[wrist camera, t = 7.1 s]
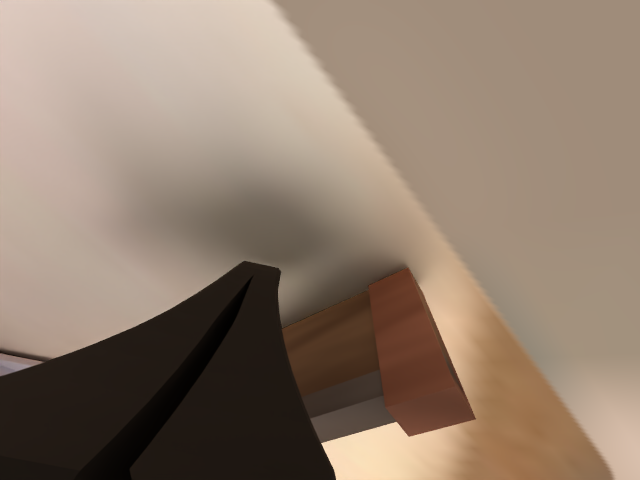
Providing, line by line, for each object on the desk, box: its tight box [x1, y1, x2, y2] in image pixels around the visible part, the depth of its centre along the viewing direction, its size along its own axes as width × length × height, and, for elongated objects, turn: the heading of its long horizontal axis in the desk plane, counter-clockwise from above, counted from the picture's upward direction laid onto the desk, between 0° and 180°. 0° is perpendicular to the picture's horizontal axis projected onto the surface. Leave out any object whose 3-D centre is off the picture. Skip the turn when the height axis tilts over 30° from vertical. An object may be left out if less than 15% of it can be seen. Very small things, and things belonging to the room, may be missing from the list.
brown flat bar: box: [282, 268, 476, 443], centre depth 12 cm, size 1×17×5 cm, turn 123°
